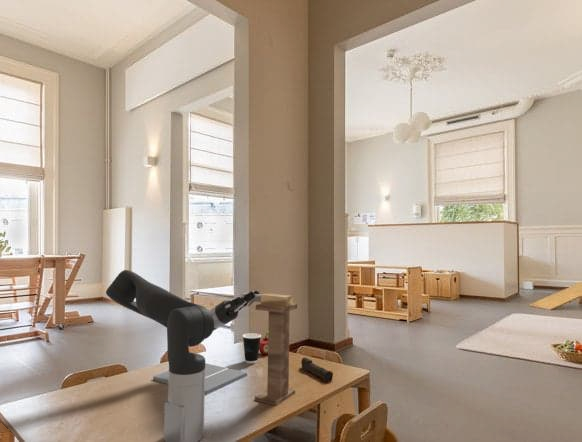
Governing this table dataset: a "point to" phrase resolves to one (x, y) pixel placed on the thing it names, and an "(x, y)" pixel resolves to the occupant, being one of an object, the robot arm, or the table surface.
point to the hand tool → (316, 370)
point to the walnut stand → (277, 354)
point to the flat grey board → (211, 377)
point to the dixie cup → (251, 347)
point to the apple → (264, 345)
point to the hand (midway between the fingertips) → (256, 293)
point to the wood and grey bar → (272, 299)
